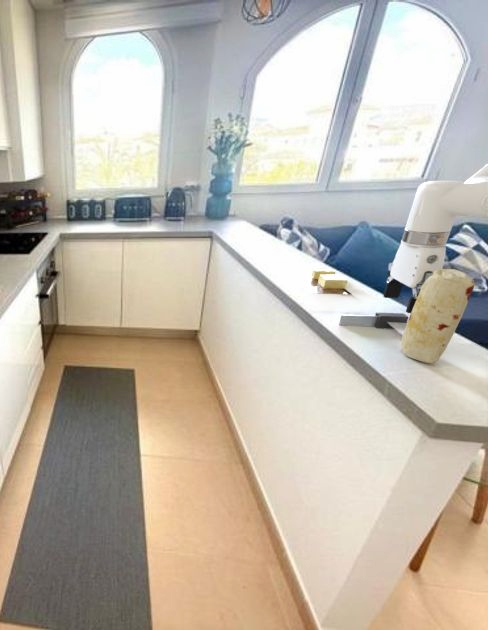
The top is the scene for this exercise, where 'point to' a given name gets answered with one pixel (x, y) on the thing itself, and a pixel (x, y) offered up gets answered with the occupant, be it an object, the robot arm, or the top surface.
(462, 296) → the food model
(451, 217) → the robot arm
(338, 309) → the top surface
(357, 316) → the knife
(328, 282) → the butter block
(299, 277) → the board
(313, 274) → the butter slice
